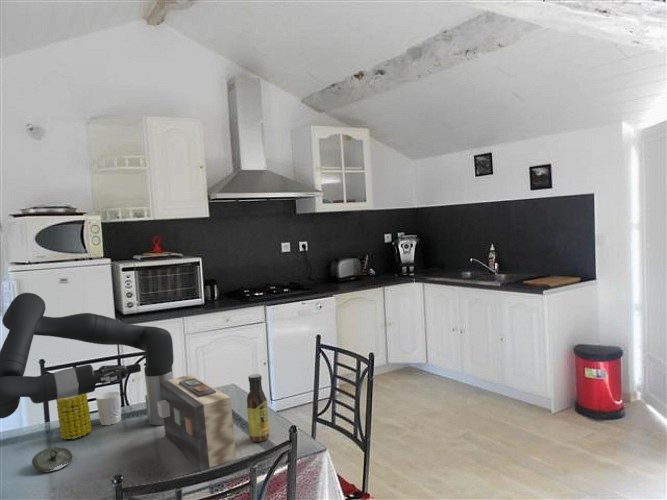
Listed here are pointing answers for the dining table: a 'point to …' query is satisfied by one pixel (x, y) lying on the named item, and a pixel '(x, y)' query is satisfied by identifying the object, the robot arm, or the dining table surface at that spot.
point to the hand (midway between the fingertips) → (140, 367)
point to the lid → (51, 458)
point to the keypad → (199, 421)
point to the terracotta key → (189, 425)
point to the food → (74, 416)
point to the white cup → (109, 407)
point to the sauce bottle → (257, 410)
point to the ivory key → (163, 408)
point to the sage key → (177, 416)
